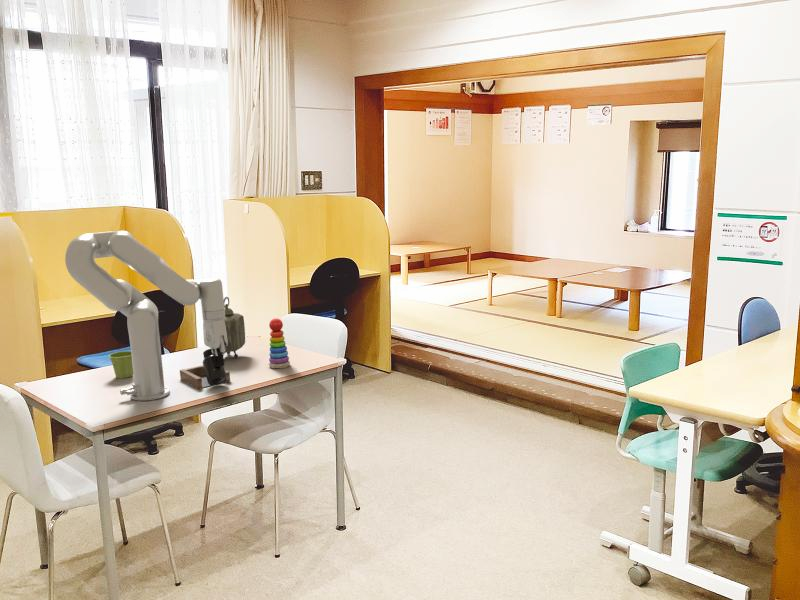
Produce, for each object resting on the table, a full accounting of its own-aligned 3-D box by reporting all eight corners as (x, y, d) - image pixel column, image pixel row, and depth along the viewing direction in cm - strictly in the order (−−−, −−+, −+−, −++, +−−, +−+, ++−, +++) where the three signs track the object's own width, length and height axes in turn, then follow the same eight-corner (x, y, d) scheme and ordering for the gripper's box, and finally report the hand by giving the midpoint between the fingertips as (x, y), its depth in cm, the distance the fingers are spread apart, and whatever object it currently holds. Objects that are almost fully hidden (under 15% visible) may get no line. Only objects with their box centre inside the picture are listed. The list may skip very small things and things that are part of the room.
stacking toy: (291, 363, 280) (288, 316, 276) (288, 368, 272) (285, 320, 268) (270, 363, 280) (267, 316, 276) (267, 369, 272) (264, 321, 268)
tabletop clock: (225, 353, 297) (221, 294, 293) (247, 353, 297) (243, 293, 292) (214, 363, 283) (209, 300, 279) (237, 362, 283) (232, 300, 278)
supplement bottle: (221, 375, 248) (212, 345, 252) (204, 383, 249) (195, 353, 253) (231, 379, 254) (222, 349, 259) (215, 387, 255) (206, 357, 260)
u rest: (198, 389, 250) (197, 379, 250) (180, 379, 262) (179, 370, 262) (230, 381, 258) (229, 372, 257) (211, 372, 270) (211, 363, 269)
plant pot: (107, 380, 264) (105, 358, 262) (115, 373, 273) (112, 351, 271) (133, 379, 265) (131, 356, 263) (140, 372, 274) (138, 350, 272)
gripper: (194, 313, 250) (200, 364, 254) (212, 319, 239) (218, 372, 242) (214, 309, 255) (220, 359, 258) (233, 315, 243) (238, 367, 247)
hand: (219, 365), depth 250 cm, fingers closed
